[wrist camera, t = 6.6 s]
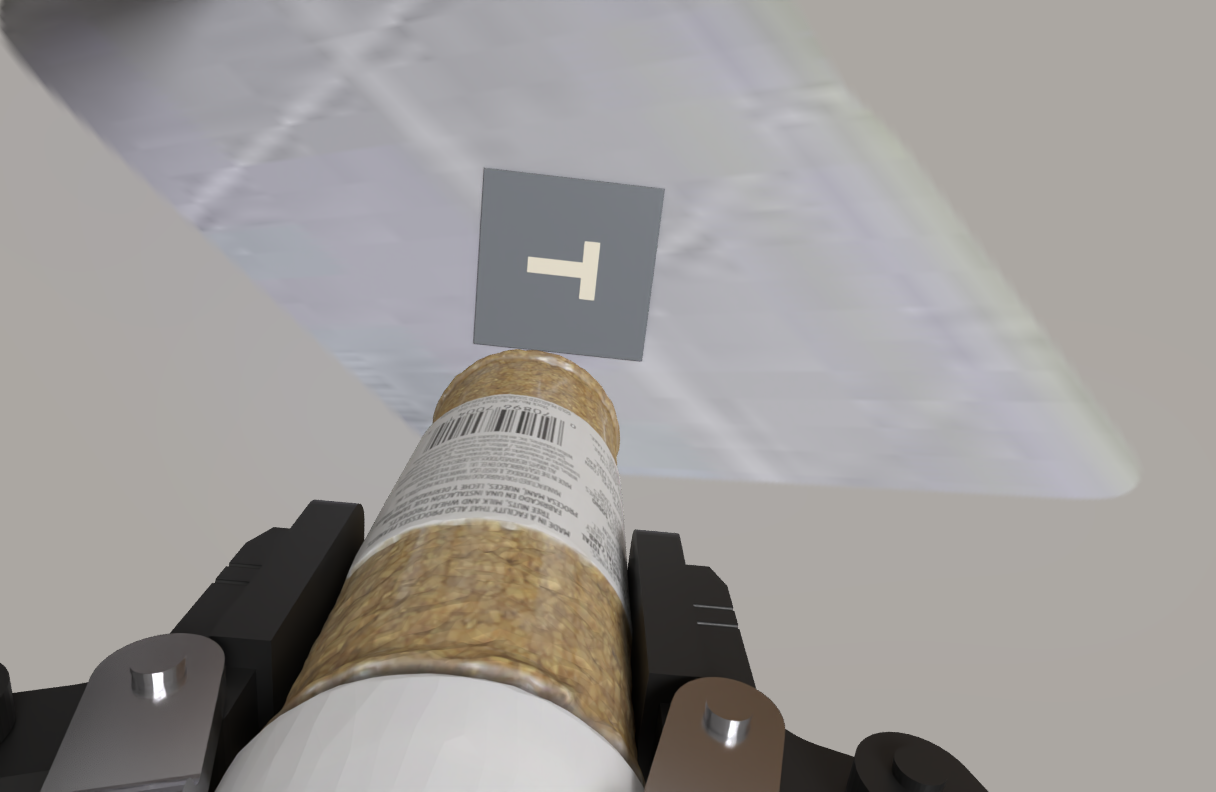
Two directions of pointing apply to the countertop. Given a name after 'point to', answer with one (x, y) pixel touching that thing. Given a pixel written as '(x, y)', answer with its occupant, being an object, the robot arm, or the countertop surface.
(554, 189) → the letter card
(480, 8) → the countertop surface
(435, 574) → the sprinkles bottle
